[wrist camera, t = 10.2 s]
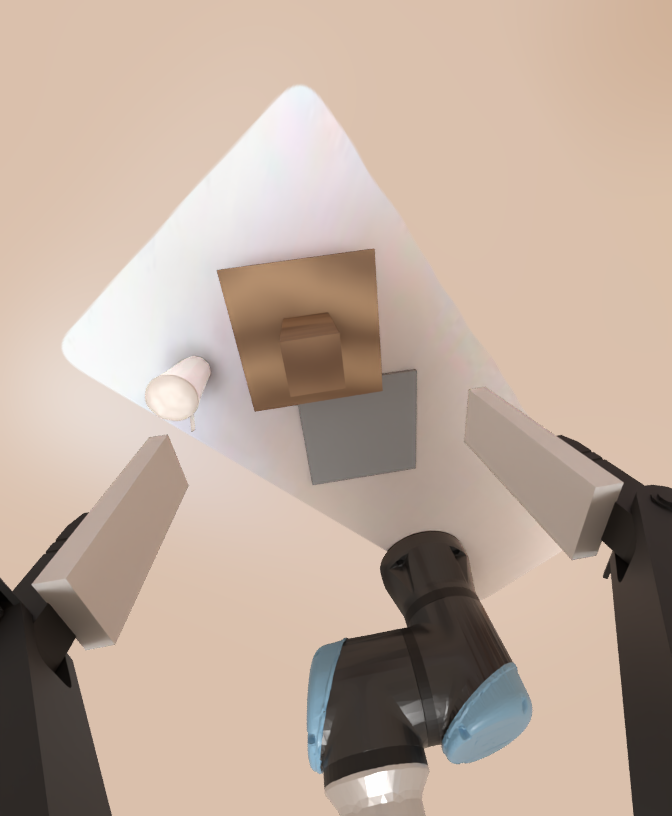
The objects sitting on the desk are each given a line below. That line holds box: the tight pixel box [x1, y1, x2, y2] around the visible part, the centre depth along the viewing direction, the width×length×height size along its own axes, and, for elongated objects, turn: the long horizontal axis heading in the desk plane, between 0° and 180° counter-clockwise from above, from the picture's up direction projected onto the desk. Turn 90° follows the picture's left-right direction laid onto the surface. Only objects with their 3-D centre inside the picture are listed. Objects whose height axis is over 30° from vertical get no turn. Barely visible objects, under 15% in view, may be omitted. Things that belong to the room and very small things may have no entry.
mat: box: [298, 369, 417, 485], centre depth 42 cm, size 15×15×1 cm
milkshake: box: [145, 356, 211, 432], centre depth 32 cm, size 4×5×10 cm
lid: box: [217, 249, 383, 412], centre depth 26 cm, size 13×13×9 cm
